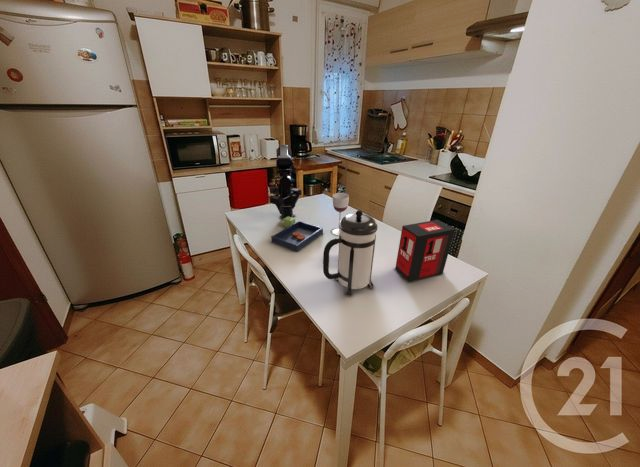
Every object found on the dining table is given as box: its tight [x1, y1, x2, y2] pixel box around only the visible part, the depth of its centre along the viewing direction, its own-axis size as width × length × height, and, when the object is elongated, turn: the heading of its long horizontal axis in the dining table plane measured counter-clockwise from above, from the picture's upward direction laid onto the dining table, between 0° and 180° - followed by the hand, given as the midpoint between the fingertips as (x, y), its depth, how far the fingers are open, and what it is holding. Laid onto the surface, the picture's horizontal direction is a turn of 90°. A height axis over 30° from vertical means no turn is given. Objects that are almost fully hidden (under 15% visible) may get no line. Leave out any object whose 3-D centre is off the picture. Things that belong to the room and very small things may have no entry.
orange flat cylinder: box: [292, 232, 300, 237], centre depth 132 cm, size 4×4×1 cm
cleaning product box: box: [394, 219, 456, 283], centre depth 102 cm, size 16×9×20 cm, turn 110°
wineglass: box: [331, 192, 350, 236], centre depth 132 cm, size 8×9×20 cm
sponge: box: [282, 216, 296, 228], centre depth 142 cm, size 4×5×4 cm
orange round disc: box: [297, 235, 305, 241], centre depth 129 cm, size 4×4×1 cm
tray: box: [271, 220, 324, 253], centre depth 130 cm, size 22×16×3 cm
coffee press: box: [322, 209, 379, 296], centre depth 92 cm, size 17×16×30 cm
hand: (287, 211), depth 138 cm, fingers open, 9 cm apart
